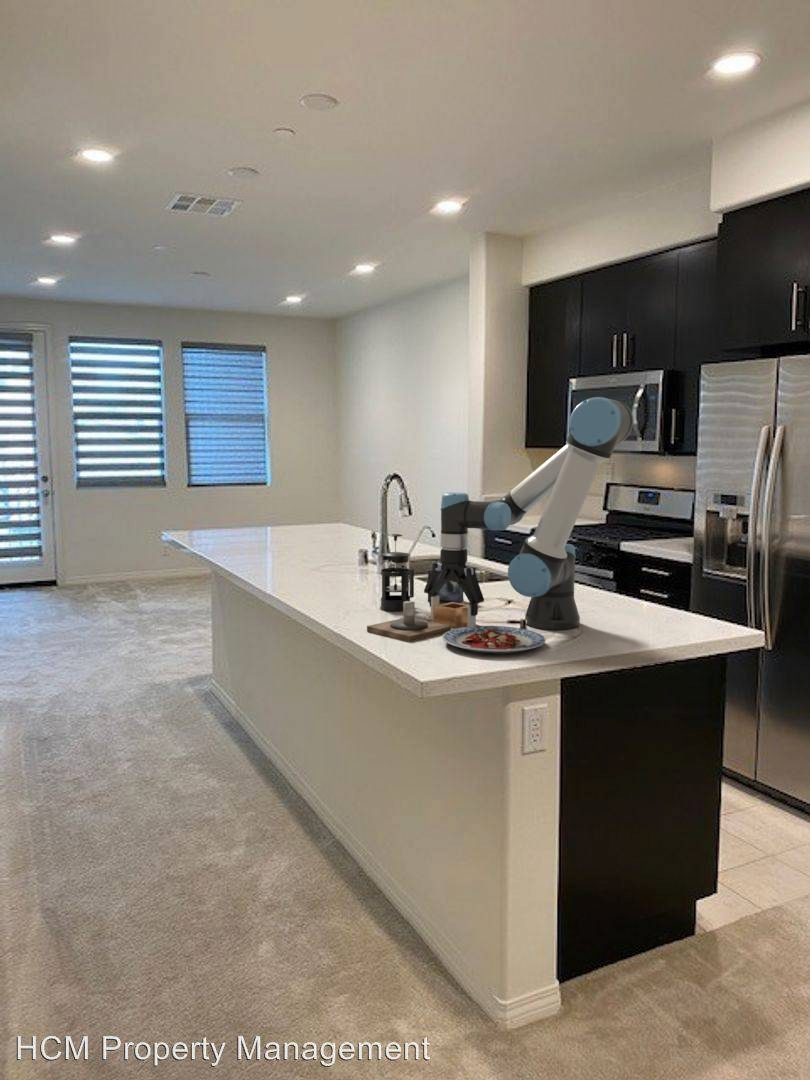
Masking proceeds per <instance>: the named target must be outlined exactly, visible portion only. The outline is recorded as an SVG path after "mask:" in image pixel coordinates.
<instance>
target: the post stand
mask: <svg viewBox="0 0 810 1080" xmlns="http://www.w3.org/2000/svg"><path fill="white" fill-rule="evenodd" d="M415 609H416V606H415V601H411V600H410V601H405V602H403V611H402V613H403V616H402V618H398V619H393V620H388V621H383V622H379V623H376V624H375V623H374V624H370V625H366V632H368V633H372V634H376V635H380V636H384V637H388V638H392V639H396V640H399V641H403V642H408V643H410V642H415V641H418V640H422V639H427V638H430V637H434V636H437V635H443V634H445V633H446V632H448V631H450V630H452V627H451V626H448V625H443V624H439V623H434V621H429V620H424V619H419V618H416V615H415V611H416V610H415Z"/></svg>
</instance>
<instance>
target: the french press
mask: <svg viewBox="0 0 810 1080" xmlns="http://www.w3.org/2000/svg"><path fill="white" fill-rule="evenodd" d="M402 536H403V534H400V533H392V534H389V535H388V537H393V541H394V551H390V552H382V553H380V557H381V558H382V559H381V560H382V561H388V560H389V561H390V562H392V563H394V567H386V568H382V569H380V575H381V597H380V607H379V610H381V611H384V612H390V613H392V612H396V613H398V612H400V613H401V612H403V602H405V601H411V598H414V596H415V594H414V593H415V592H414V591H415V580H414V579H415V578H414V577H415V570H414V569H412V568H405V567H397V564H402V563H405V564H406V563H409V561H410V556H411V553H408V552H403V551H397V541H398V537H402ZM392 577H393V578H394V584H393V585H391V578H392ZM397 577H399V578H401V579H400V580H401V582H400V585H397ZM391 593H401V594H399V595H397V594H396V595H395V594H394V595H393V594H391Z"/></svg>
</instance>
